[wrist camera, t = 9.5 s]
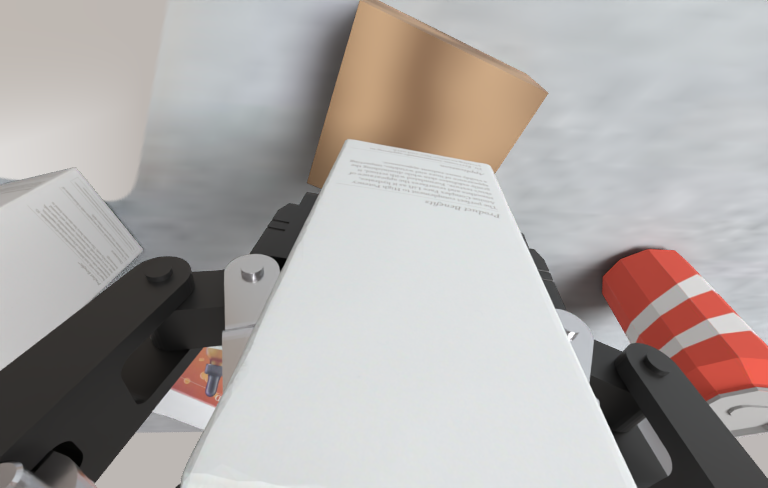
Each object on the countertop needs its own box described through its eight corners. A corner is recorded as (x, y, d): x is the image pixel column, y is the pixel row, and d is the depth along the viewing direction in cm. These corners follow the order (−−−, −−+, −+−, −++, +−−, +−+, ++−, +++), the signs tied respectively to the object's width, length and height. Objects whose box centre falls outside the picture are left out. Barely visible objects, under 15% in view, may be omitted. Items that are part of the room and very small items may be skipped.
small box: (295, 327, 38) (257, 425, 29) (273, 350, 41) (233, 445, 32) (226, 291, 35) (164, 387, 27) (208, 318, 38) (147, 412, 30)
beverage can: (662, 301, 30) (771, 446, 21) (586, 296, 31) (659, 435, 21) (699, 246, 27) (853, 392, 17) (613, 241, 27) (715, 380, 18)
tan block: (525, 73, 21) (548, 92, 17) (447, 202, 27) (450, 240, 23) (373, -3, 20) (360, 0, 16) (325, 152, 25) (306, 182, 21)
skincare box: (338, 222, 16) (207, 575, 6) (346, 128, 13) (138, 492, 4) (468, 245, 16) (531, 629, 6) (501, 155, 13) (693, 585, 4)
